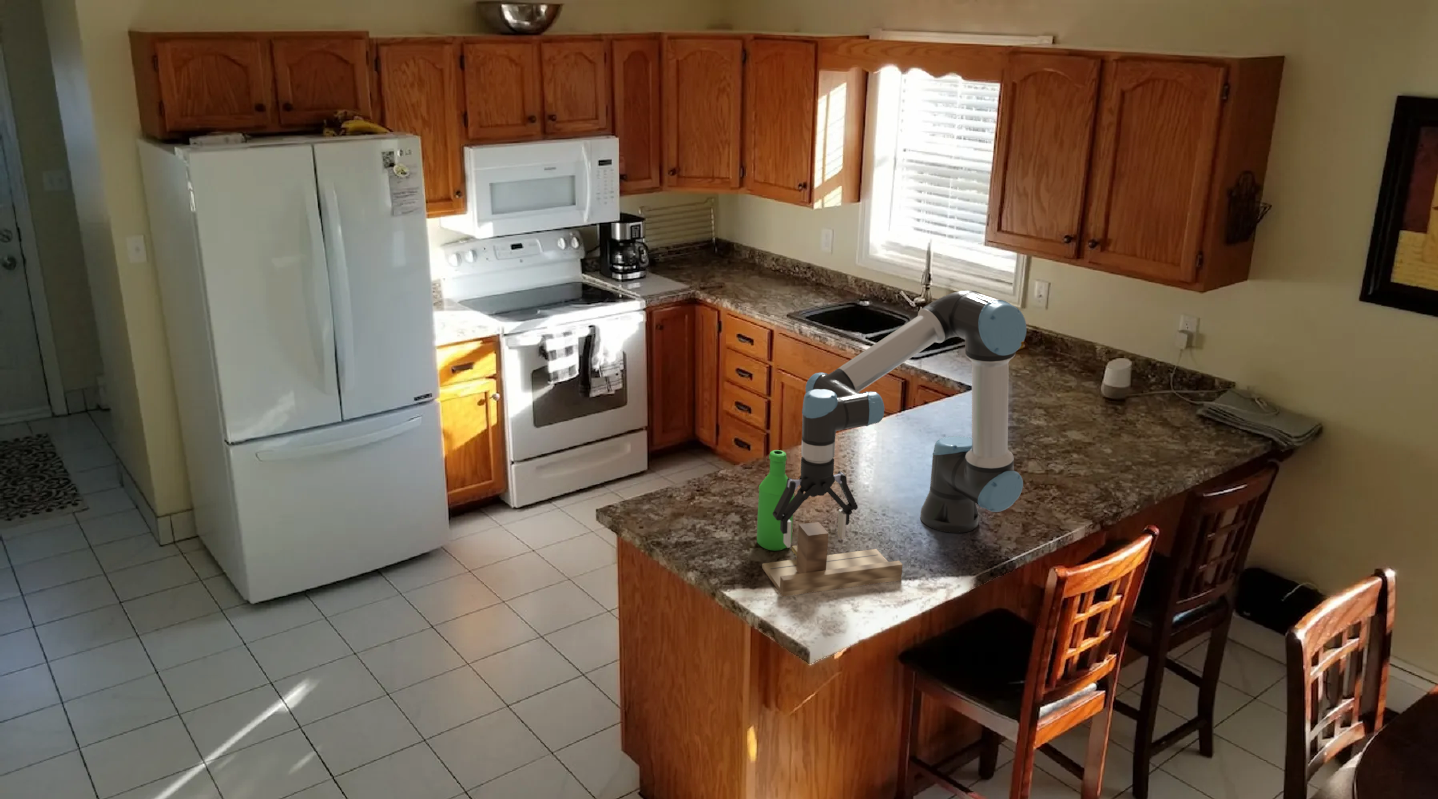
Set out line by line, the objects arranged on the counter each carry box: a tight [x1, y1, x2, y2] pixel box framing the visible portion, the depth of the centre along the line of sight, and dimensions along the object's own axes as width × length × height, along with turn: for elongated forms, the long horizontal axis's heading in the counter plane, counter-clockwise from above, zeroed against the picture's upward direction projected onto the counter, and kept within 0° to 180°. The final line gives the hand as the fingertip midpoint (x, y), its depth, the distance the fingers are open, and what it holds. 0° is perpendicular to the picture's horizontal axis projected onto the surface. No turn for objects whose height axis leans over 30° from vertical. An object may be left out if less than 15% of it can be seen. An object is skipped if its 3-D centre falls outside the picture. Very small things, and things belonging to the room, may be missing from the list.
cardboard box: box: [791, 521, 829, 574], centre depth 255 cm, size 5×14×12 cm, turn 17°
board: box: [761, 548, 903, 597], centre depth 256 cm, size 30×14×4 cm, turn 107°
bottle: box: [756, 449, 795, 552], centre depth 267 cm, size 9×9×25 cm
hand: (814, 541), depth 251 cm, fingers open, 13 cm apart
